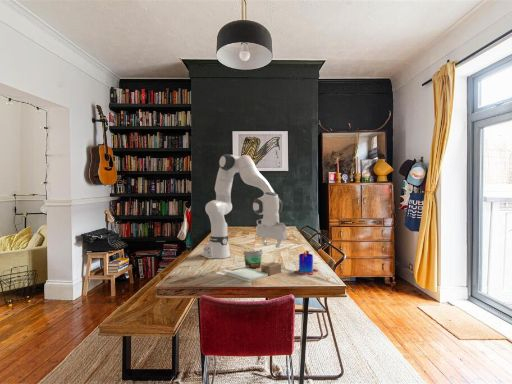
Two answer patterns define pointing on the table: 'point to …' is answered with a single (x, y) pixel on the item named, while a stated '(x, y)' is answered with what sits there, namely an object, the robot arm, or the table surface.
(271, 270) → the walnut block
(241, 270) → the building board
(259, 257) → the food container
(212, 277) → the table surface
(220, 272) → the page
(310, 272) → the fantasy tower
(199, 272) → the table surface
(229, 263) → the table surface
